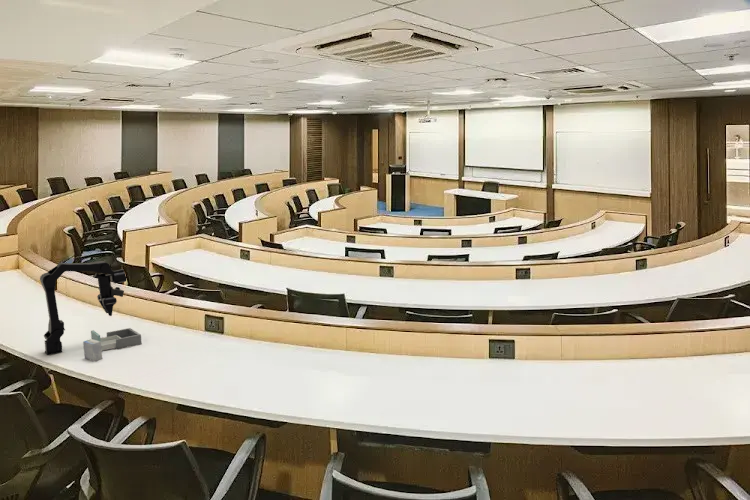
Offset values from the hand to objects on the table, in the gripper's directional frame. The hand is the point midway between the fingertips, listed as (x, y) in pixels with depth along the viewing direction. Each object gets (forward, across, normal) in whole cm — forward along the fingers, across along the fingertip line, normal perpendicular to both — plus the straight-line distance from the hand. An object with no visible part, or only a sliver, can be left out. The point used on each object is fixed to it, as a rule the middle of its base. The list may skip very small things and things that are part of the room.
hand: (108, 314), depth 290 cm
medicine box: (+16, -22, +13) cm, 30 cm away
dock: (+15, -5, -5) cm, 17 cm away
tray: (+15, -6, +3) cm, 16 cm away
